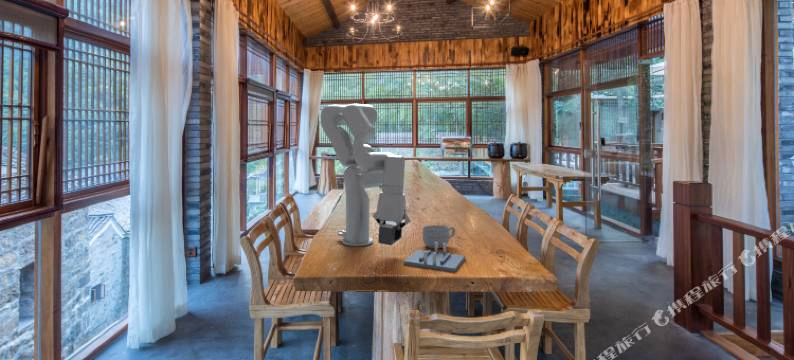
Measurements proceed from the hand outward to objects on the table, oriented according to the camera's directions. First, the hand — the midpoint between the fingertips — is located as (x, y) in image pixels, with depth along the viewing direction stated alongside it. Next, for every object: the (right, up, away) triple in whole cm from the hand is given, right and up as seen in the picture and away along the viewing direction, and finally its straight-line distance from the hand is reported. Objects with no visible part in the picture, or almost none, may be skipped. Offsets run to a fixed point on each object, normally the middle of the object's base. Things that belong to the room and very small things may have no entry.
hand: (390, 237), depth 151 cm
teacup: (+19, -6, +14) cm, 24 cm away
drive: (0, -1, 0) cm, 1 cm away
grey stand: (+16, -8, -5) cm, 19 cm away
